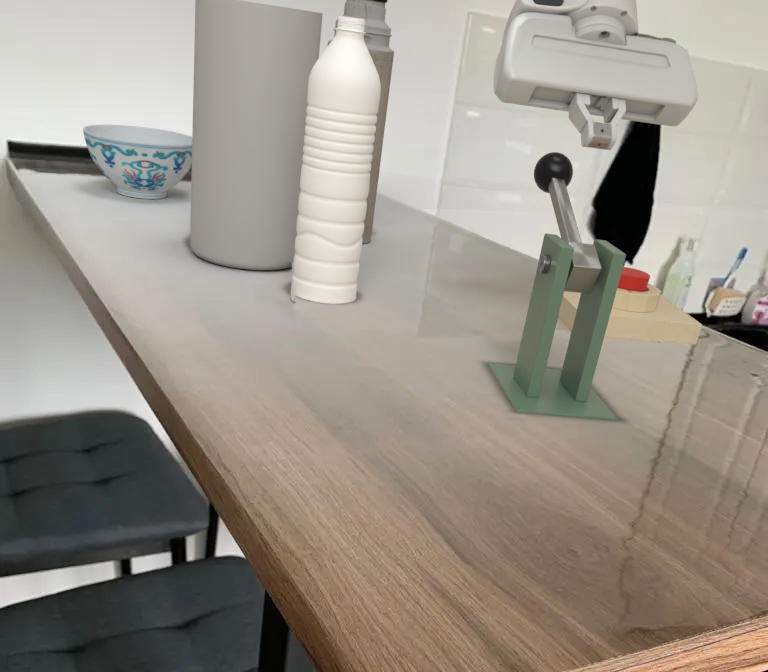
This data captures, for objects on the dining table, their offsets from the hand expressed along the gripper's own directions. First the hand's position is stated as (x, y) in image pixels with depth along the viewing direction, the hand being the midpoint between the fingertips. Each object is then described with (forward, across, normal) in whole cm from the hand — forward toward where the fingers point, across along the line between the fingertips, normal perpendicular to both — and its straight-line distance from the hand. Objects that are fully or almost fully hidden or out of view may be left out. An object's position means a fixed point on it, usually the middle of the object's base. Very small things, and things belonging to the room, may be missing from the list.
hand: (599, 144), depth 84 cm
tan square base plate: (+14, -6, -11) cm, 19 cm away
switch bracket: (+29, +8, +4) cm, 31 cm away
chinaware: (-17, +48, -42) cm, 66 cm away
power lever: (+16, +8, +9) cm, 20 cm away
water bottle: (+13, +25, -12) cm, 31 cm away
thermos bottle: (-8, +21, -33) cm, 40 cm away
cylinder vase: (+3, +33, -22) cm, 40 cm away
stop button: (+11, -6, -8) cm, 14 cm away
